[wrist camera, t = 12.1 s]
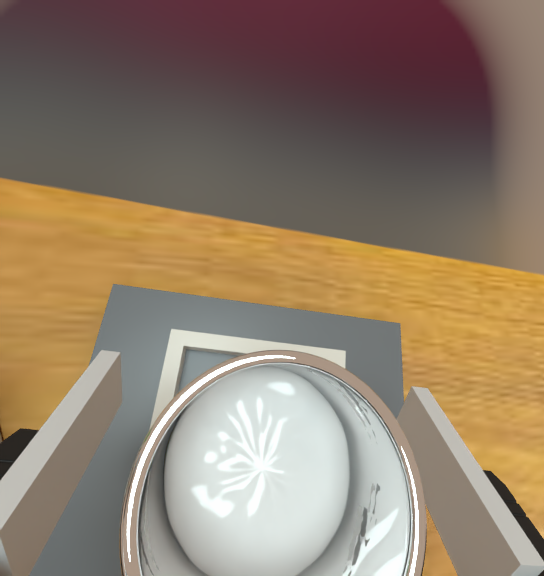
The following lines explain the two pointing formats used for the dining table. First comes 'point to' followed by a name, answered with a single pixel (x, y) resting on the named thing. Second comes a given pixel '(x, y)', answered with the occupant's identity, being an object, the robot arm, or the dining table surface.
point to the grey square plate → (179, 373)
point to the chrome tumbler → (274, 478)
